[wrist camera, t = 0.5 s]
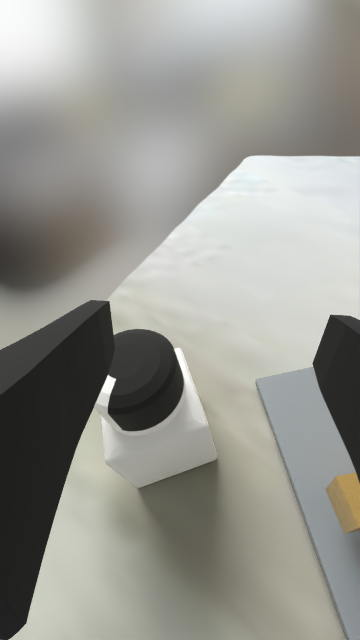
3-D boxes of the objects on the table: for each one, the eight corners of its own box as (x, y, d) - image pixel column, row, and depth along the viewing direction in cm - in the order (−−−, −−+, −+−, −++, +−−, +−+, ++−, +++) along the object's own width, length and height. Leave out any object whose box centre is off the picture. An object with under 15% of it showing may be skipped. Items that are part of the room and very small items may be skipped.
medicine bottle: (193, 387, 28) (167, 303, 20) (219, 460, 24) (200, 392, 15) (124, 411, 28) (67, 336, 19) (136, 490, 23) (66, 438, 14)
